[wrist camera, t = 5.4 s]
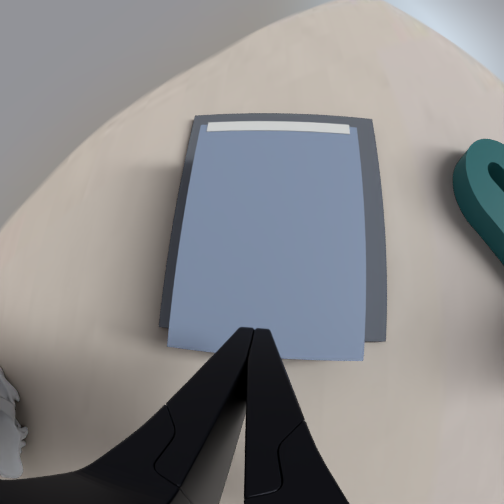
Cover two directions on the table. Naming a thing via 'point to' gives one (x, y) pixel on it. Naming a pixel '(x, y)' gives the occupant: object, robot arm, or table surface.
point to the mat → (372, 213)
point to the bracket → (483, 191)
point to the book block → (273, 240)
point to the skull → (10, 431)
